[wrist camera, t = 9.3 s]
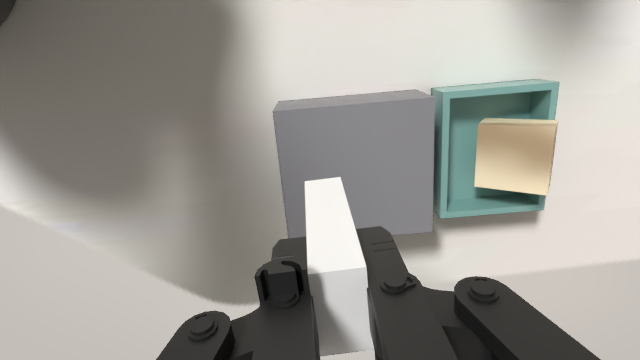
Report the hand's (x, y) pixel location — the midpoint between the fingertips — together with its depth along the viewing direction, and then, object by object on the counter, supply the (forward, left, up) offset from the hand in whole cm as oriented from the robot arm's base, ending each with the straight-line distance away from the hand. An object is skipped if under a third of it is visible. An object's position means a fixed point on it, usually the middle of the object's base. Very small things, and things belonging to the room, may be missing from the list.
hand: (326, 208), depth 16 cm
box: (+4, +16, -22) cm, 27 cm away
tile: (+4, +17, -17) cm, 24 cm away
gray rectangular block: (+4, +3, -22) cm, 22 cm away
